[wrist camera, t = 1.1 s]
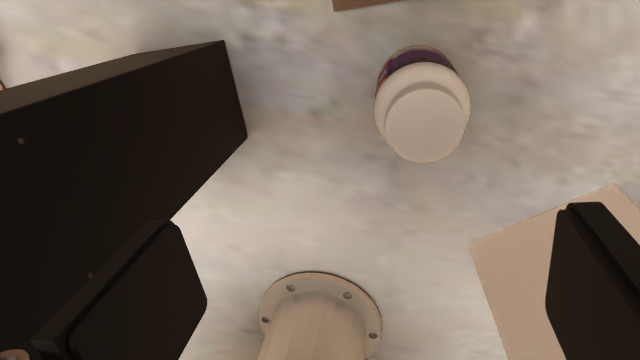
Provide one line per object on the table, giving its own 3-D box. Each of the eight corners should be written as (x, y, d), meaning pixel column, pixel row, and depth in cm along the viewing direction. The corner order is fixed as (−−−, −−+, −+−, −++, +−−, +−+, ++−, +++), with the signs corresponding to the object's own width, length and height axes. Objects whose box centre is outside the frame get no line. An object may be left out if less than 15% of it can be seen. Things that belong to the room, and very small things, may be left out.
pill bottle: (370, 55, 28) (360, 87, 19) (449, 36, 26) (476, 61, 18) (384, 126, 30) (381, 183, 21) (458, 112, 28) (485, 167, 20)
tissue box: (225, 38, 29) (-756, 359, 4) (249, 137, 32) (-219, 640, 8) (133, 53, 31) (-947, 341, 6) (166, 145, 34) (-440, 577, 9)
